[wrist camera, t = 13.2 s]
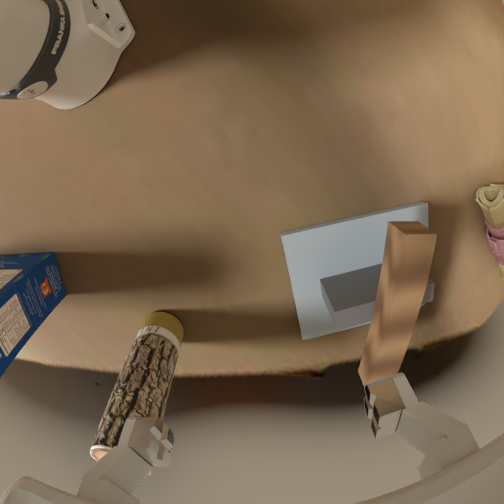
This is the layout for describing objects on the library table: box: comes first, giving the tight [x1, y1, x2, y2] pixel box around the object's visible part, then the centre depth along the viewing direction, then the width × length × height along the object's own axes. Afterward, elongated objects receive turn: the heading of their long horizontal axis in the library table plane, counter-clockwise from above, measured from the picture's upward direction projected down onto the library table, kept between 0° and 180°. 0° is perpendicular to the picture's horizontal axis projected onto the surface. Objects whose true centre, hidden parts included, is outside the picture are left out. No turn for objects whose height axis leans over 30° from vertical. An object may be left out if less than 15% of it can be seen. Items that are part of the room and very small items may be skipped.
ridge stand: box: [281, 201, 435, 340], centre depth 36 cm, size 22×18×9 cm
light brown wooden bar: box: [358, 221, 437, 387], centre depth 30 cm, size 22×4×4 cm, turn 2°
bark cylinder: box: [90, 312, 184, 477], centre depth 32 cm, size 7×7×25 cm
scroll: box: [475, 184, 504, 280], centre depth 35 cm, size 8×8×20 cm
